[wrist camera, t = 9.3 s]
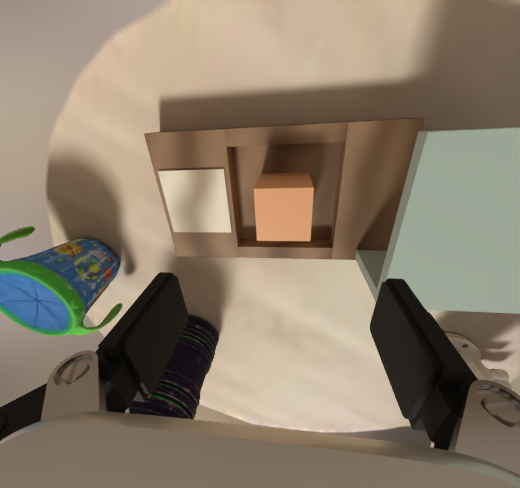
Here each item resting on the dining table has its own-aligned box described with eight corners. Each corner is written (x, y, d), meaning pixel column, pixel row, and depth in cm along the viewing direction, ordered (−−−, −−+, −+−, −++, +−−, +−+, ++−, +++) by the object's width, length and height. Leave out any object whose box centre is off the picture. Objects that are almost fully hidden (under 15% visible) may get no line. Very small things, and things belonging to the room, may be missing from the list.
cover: (543, 119, 17) (701, 118, 11) (474, 260, 23) (545, 315, 17) (379, 127, 19) (427, 131, 12) (355, 257, 25) (378, 307, 18)
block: (308, 172, 23) (313, 187, 18) (306, 216, 26) (310, 241, 21) (261, 173, 24) (253, 188, 19) (263, 216, 26) (257, 240, 21)
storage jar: (230, 339, 40) (202, 445, 27) (195, 357, 44) (155, 457, 31) (189, 305, 37) (135, 406, 24) (155, 327, 41) (92, 424, 28)
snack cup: (34, 228, 33) (-60, 268, 24) (79, 198, 29) (-12, 232, 21) (110, 302, 39) (58, 356, 30) (155, 284, 35) (110, 339, 27)
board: (407, 118, 21) (425, 118, 18) (377, 247, 28) (387, 261, 25) (159, 132, 24) (142, 133, 21) (186, 244, 31) (176, 257, 28)
